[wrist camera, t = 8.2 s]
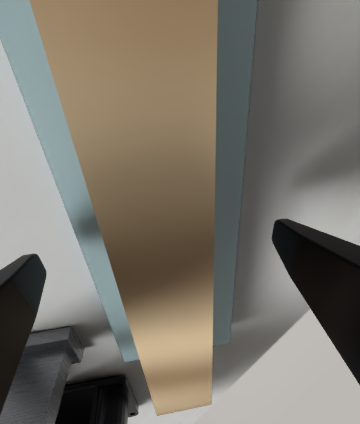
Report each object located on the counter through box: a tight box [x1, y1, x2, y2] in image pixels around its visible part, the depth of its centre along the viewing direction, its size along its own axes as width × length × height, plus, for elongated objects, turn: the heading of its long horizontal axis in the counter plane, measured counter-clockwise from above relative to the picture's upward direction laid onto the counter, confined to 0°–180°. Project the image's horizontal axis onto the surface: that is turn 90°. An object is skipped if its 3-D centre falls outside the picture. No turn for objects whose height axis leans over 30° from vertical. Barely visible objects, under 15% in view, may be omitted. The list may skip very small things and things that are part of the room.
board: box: [0, 0, 258, 362], centre depth 10 cm, size 20×7×1 cm, turn 4°
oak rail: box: [29, 0, 218, 416], centre depth 8 cm, size 20×3×3 cm, turn 4°
